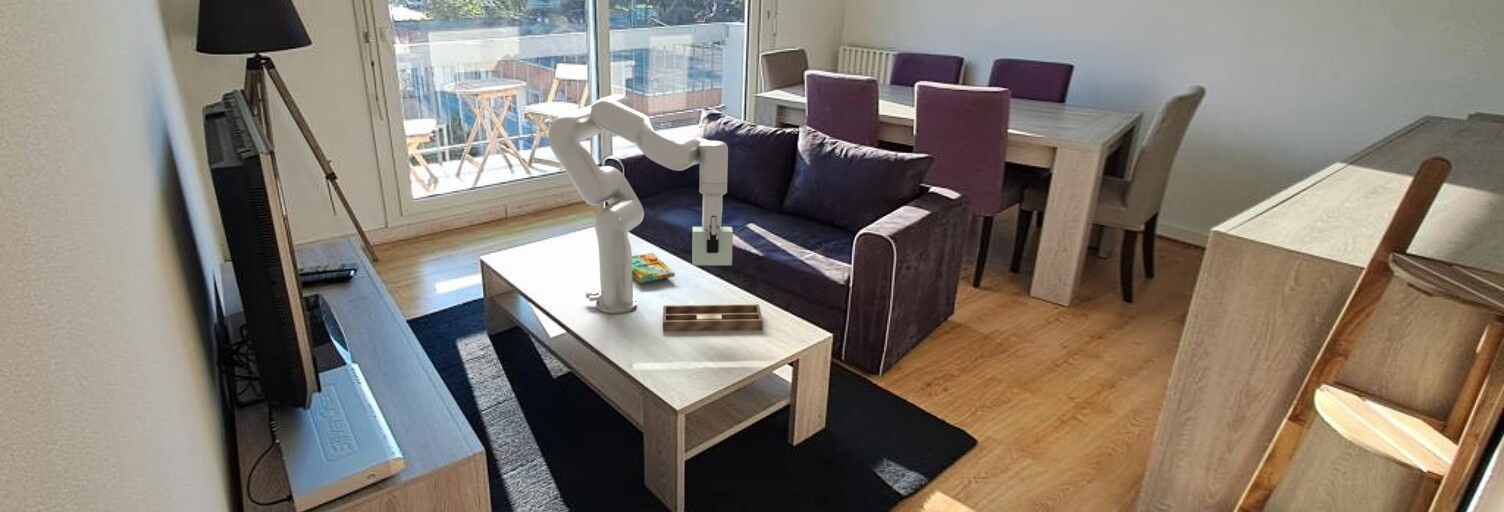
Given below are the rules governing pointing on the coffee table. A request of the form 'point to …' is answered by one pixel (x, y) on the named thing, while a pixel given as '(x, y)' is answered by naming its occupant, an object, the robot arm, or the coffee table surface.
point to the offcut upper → (709, 317)
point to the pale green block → (700, 247)
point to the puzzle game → (649, 268)
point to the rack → (731, 320)
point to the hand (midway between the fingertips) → (712, 249)
